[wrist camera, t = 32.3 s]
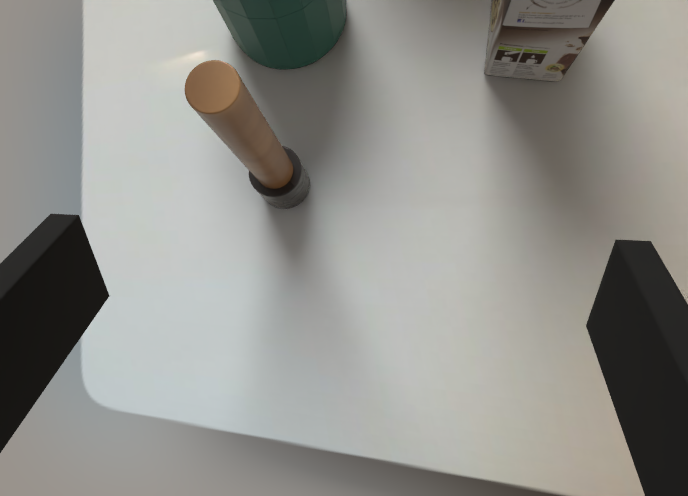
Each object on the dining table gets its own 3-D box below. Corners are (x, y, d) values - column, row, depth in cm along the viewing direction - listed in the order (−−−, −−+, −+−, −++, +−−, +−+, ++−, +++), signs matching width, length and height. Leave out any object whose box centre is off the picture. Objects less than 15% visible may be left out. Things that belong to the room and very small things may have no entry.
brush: (311, 162, 44) (255, 48, 26) (307, 209, 43) (248, 126, 26) (263, 160, 44) (176, 47, 26) (259, 208, 44) (168, 124, 26)
